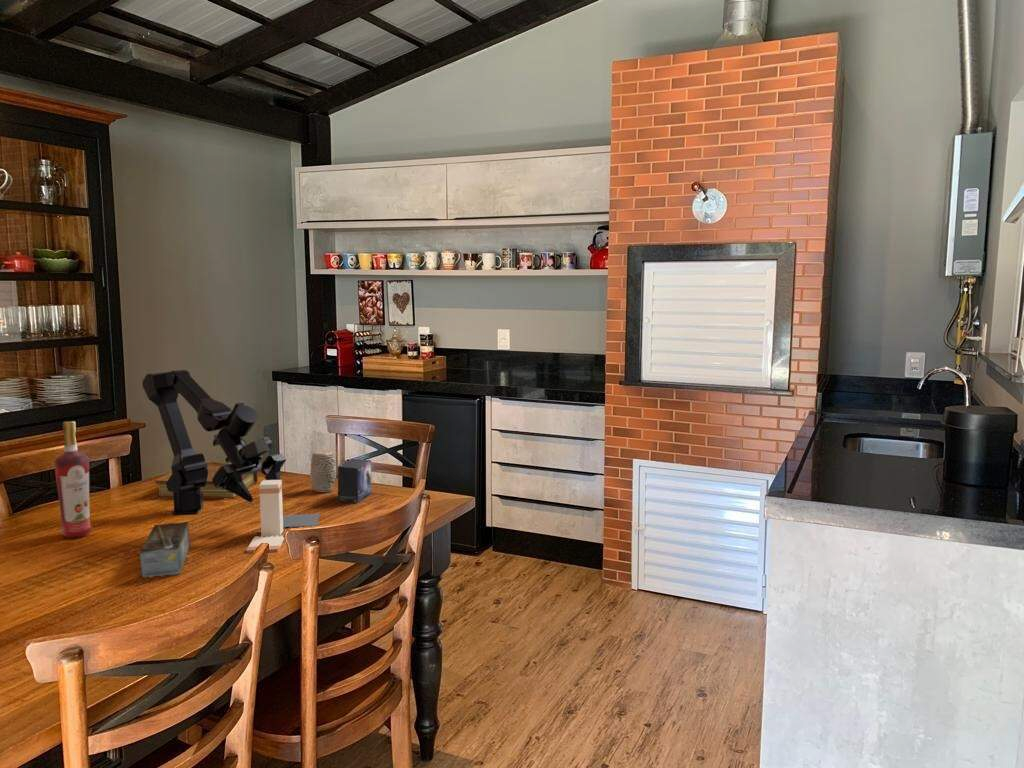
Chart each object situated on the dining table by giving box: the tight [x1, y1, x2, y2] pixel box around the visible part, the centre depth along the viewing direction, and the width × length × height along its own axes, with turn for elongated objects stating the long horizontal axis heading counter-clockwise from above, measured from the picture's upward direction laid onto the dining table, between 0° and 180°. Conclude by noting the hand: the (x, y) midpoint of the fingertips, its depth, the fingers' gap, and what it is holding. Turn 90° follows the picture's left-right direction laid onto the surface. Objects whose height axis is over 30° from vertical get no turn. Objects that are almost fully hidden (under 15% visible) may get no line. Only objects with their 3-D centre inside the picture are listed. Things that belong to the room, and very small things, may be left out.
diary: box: [154, 465, 259, 499], centre depth 228 cm, size 23×19×6 cm
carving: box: [309, 449, 337, 493], centre depth 227 cm, size 6×8×12 cm
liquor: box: [53, 420, 93, 539], centre depth 184 cm, size 7×7×28 cm
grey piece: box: [139, 521, 191, 578], centre depth 169 cm, size 8×19×7 cm, turn 17°
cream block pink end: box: [245, 534, 285, 554], centre depth 180 cm, size 10×7×1 cm
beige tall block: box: [258, 479, 284, 536], centre depth 188 cm, size 5×5×13 cm
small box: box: [337, 458, 372, 504], centre depth 220 cm, size 11×6×10 cm, turn 168°
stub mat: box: [283, 513, 321, 529], centre depth 198 cm, size 10×10×1 cm
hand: (267, 496), depth 188 cm, fingers open, 9 cm apart
